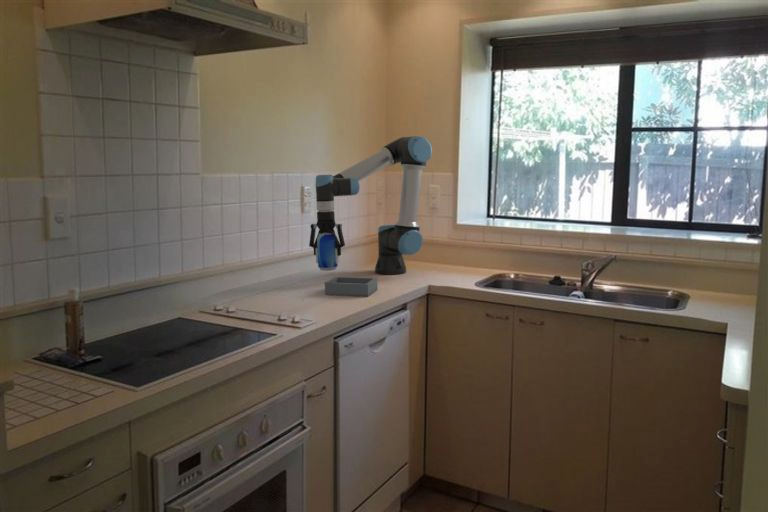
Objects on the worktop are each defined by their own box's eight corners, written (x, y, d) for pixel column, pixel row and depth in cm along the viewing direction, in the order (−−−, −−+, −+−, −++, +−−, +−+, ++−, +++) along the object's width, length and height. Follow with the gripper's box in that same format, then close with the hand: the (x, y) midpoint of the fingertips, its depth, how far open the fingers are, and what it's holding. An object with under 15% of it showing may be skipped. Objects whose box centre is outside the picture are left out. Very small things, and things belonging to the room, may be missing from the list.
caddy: (336, 288, 281) (336, 276, 281) (377, 289, 277) (377, 278, 276) (325, 294, 268) (324, 282, 267) (367, 296, 263) (367, 284, 263)
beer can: (322, 271, 281) (320, 234, 279) (315, 268, 289) (314, 232, 286) (340, 269, 285) (339, 233, 282) (333, 266, 292) (332, 231, 290)
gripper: (299, 211, 282) (302, 263, 286) (346, 211, 276) (348, 264, 280) (305, 210, 289) (308, 261, 293) (351, 209, 284) (353, 261, 287)
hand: (327, 262), depth 286 cm, fingers closed on beer can, 8 cm apart
